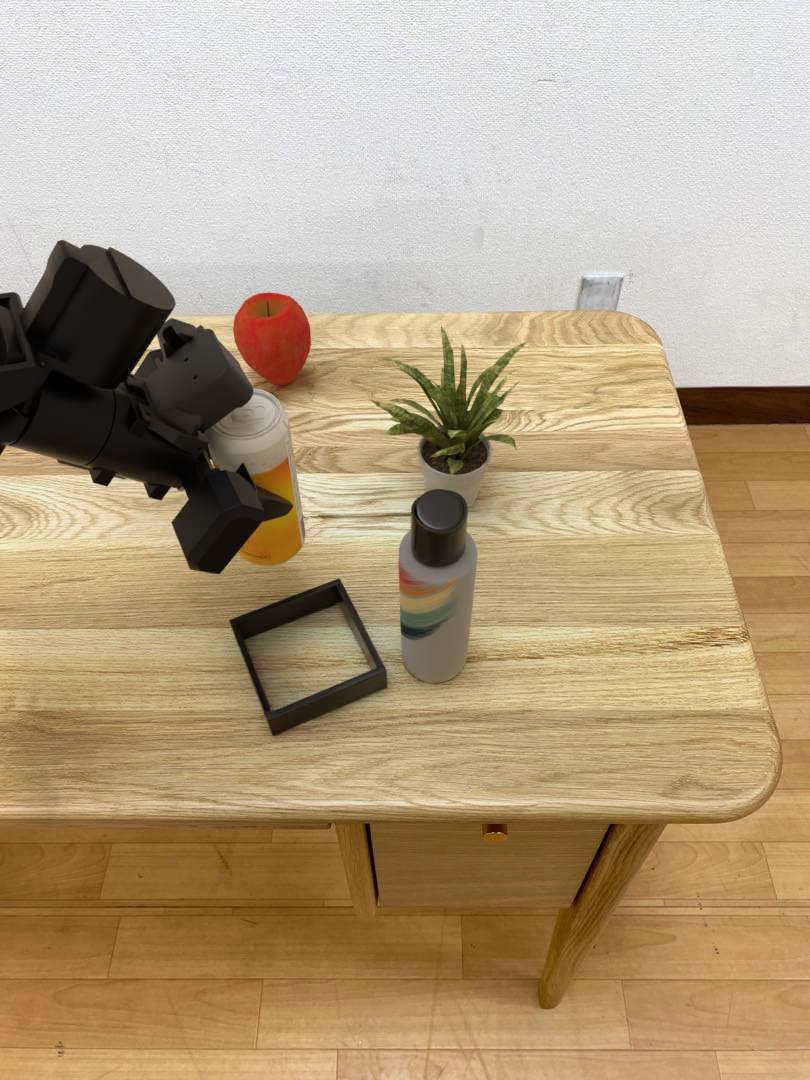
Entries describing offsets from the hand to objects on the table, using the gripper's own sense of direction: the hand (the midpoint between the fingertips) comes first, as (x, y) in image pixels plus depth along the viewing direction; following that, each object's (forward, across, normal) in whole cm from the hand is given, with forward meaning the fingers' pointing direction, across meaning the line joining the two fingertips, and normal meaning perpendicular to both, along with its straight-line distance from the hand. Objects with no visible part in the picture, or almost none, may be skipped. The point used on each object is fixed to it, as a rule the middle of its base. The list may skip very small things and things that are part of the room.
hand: (275, 482), depth 61 cm
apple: (+16, +27, +3) cm, 31 cm away
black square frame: (+8, -9, +11) cm, 16 cm away
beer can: (+4, 0, +6) cm, 7 cm away
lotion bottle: (+15, -13, +4) cm, 20 cm away
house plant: (+23, +4, -4) cm, 24 cm away
